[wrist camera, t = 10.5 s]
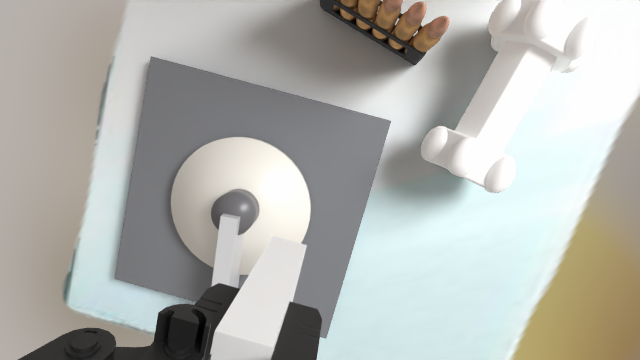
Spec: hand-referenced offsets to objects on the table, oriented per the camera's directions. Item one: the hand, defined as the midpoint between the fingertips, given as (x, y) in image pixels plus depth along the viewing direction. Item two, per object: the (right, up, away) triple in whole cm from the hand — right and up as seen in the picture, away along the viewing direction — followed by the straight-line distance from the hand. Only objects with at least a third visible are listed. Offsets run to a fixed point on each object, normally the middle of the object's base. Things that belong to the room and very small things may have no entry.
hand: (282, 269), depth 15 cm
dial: (-7, -1, +22) cm, 23 cm away
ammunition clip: (+7, +18, +19) cm, 27 cm away
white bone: (+18, +11, +20) cm, 29 cm away
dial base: (-6, +2, +23) cm, 24 cm away
